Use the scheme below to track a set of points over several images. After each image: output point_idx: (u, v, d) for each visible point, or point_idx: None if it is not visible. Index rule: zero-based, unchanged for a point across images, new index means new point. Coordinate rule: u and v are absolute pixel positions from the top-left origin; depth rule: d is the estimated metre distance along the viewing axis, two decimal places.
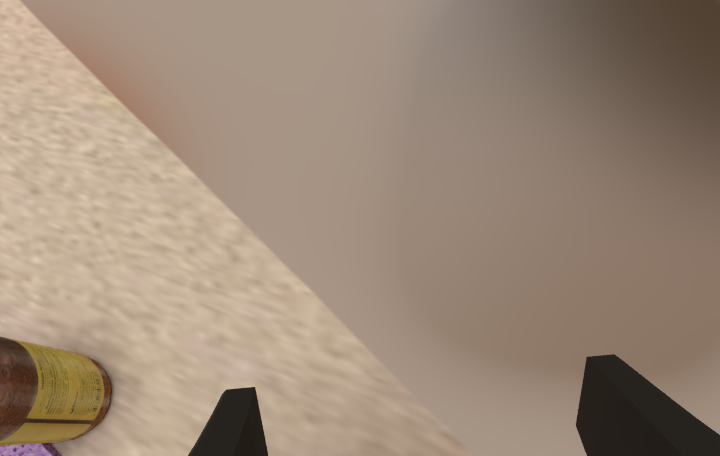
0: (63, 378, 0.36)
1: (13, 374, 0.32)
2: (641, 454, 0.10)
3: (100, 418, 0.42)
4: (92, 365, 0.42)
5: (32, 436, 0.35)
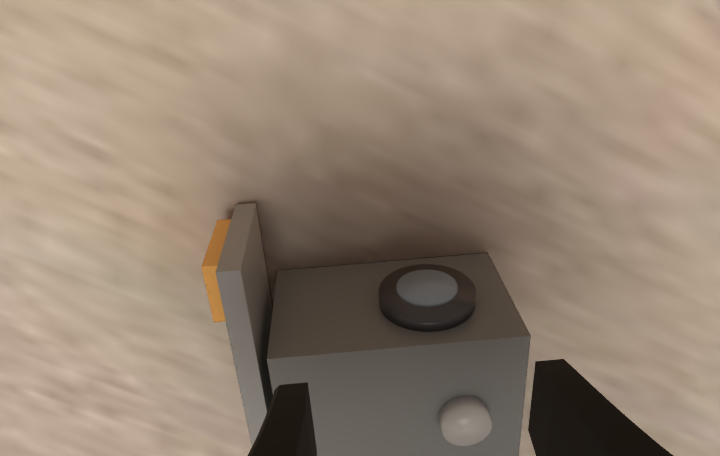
0: None
1: None
2: None
3: None
4: None
5: None
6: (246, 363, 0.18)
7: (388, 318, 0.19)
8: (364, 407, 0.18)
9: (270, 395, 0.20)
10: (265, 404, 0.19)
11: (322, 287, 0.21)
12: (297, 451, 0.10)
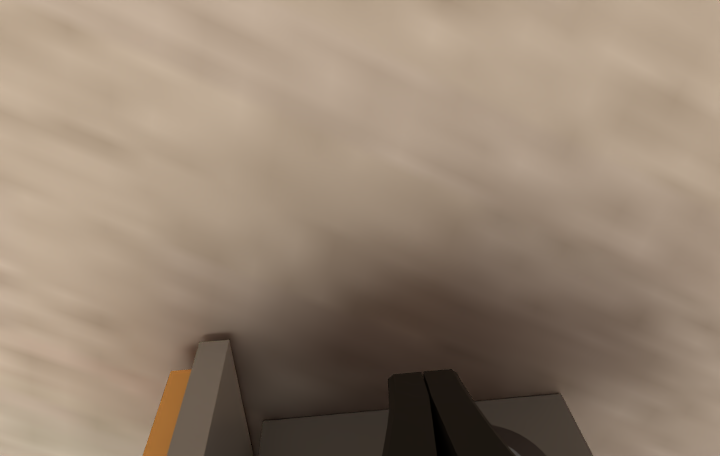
0: None
1: None
2: None
3: None
4: None
5: None
6: None
7: None
8: None
9: None
10: None
11: None
12: (434, 438, 0.10)
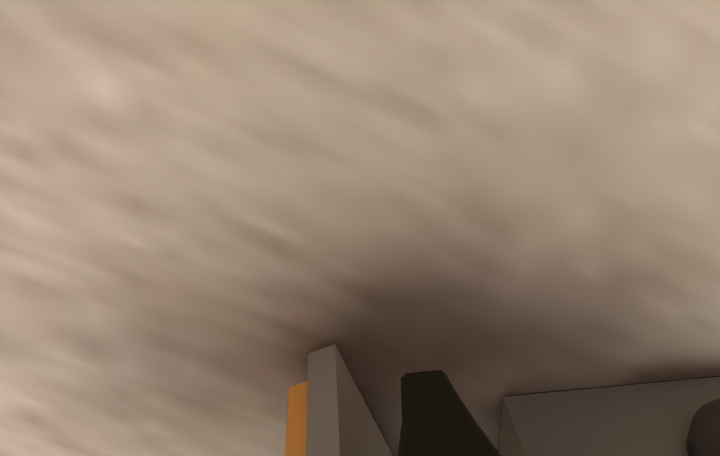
0: None
1: None
2: None
3: None
4: None
5: None
6: None
7: None
8: None
9: None
10: None
11: (588, 431, 0.14)
12: (450, 437, 0.10)
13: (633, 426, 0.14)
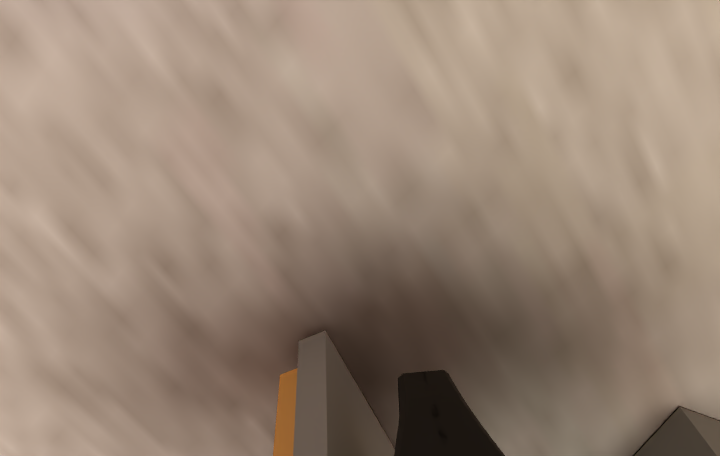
0: None
1: None
2: None
3: None
4: None
5: None
6: None
7: None
8: None
9: None
10: None
11: None
12: (446, 437, 0.10)
13: None
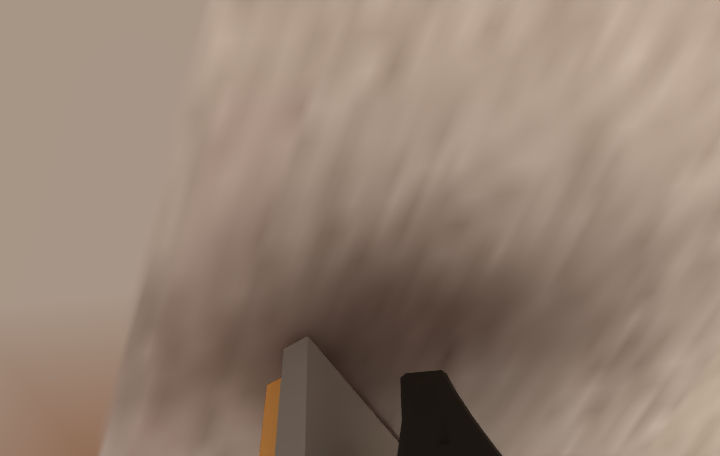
0: None
1: None
2: None
3: None
4: None
5: None
6: None
7: None
8: None
9: None
10: None
11: None
12: (449, 437, 0.10)
13: None
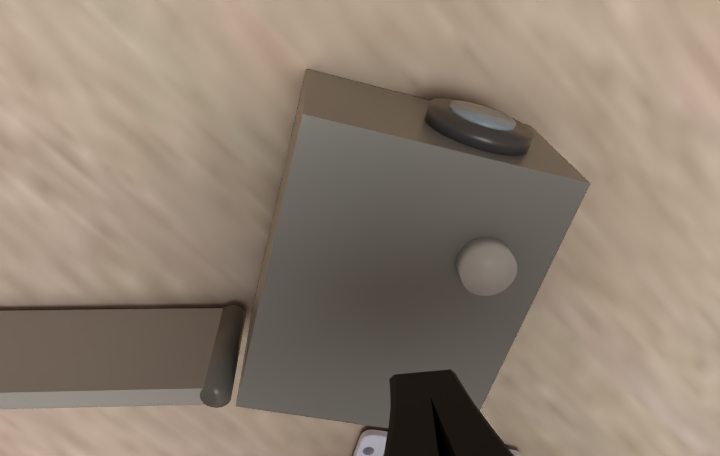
0: None
1: None
2: None
3: None
4: None
5: None
6: None
7: (437, 130, 0.16)
8: (385, 217, 0.16)
9: None
10: None
11: (360, 92, 0.18)
12: (436, 438, 0.10)
13: (394, 101, 0.18)
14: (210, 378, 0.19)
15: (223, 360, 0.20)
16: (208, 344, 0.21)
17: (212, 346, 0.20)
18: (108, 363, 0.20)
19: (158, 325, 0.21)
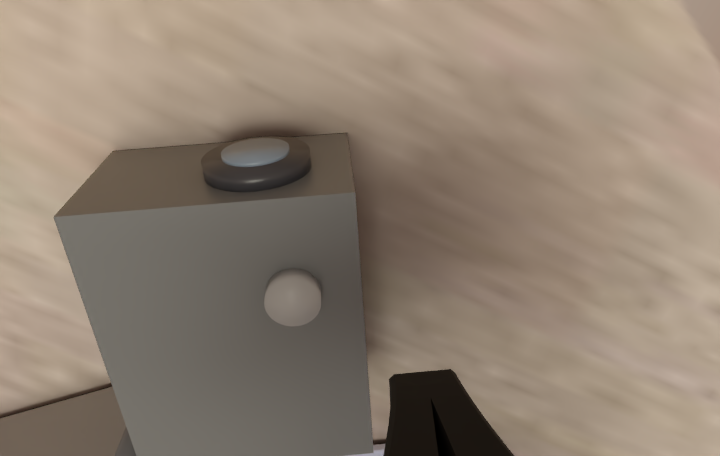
0: None
1: None
2: None
3: None
4: None
5: None
6: None
7: (209, 183, 0.17)
8: (178, 281, 0.16)
9: None
10: None
11: (153, 162, 0.18)
12: (435, 438, 0.10)
13: (189, 159, 0.19)
14: (117, 454, 0.20)
15: None
16: None
17: None
18: None
19: (86, 410, 0.23)
